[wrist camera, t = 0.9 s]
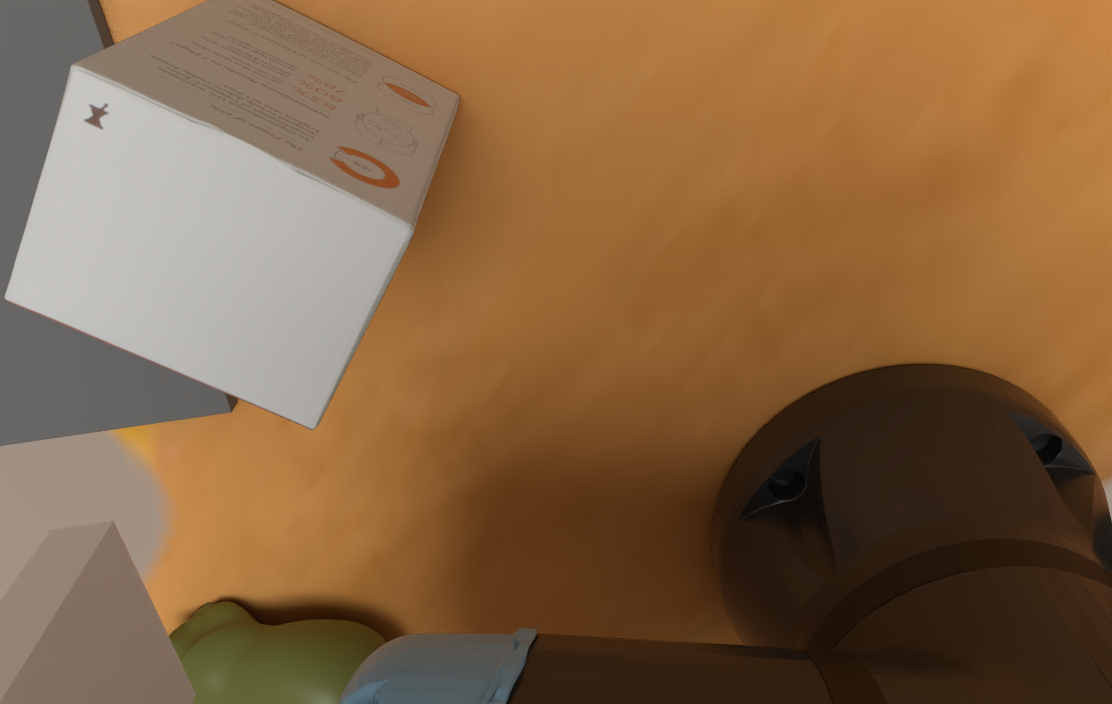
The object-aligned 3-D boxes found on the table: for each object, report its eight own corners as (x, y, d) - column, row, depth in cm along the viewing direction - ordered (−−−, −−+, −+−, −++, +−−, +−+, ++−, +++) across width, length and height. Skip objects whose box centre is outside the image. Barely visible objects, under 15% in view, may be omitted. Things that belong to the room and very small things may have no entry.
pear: (374, 798, 42) (143, 747, 43) (413, 702, 47) (203, 658, 48) (376, 696, 40) (131, 644, 41) (417, 606, 44) (196, 562, 45)
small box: (176, 151, 36) (-9, 301, 24) (238, -21, 33) (65, 54, 22) (392, 252, 38) (315, 438, 26) (467, 95, 35) (419, 223, 23)
